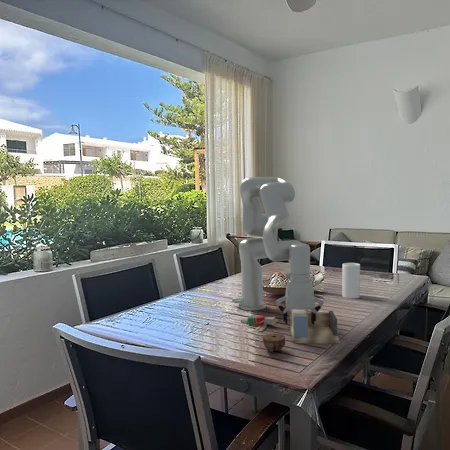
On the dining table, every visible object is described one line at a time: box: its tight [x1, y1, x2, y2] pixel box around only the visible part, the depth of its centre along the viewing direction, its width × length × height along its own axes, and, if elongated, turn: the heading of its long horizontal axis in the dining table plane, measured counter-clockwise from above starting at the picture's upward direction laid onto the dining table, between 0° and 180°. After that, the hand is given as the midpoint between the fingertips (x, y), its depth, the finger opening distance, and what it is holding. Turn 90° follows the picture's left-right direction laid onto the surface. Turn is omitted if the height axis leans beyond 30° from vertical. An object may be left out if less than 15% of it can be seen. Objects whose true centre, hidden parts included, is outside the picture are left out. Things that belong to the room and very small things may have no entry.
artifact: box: [262, 333, 286, 353], centre depth 143 cm, size 8×8×5 cm
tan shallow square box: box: [289, 310, 340, 345], centre depth 157 cm, size 16×16×7 cm
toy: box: [240, 314, 279, 333], centre depth 171 cm, size 15×4×15 cm
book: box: [291, 309, 308, 337], centre depth 156 cm, size 5×9×8 cm, turn 175°
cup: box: [341, 262, 361, 300], centre depth 208 cm, size 8×8×16 cm
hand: (299, 323), depth 156 cm, fingers open, 9 cm apart
